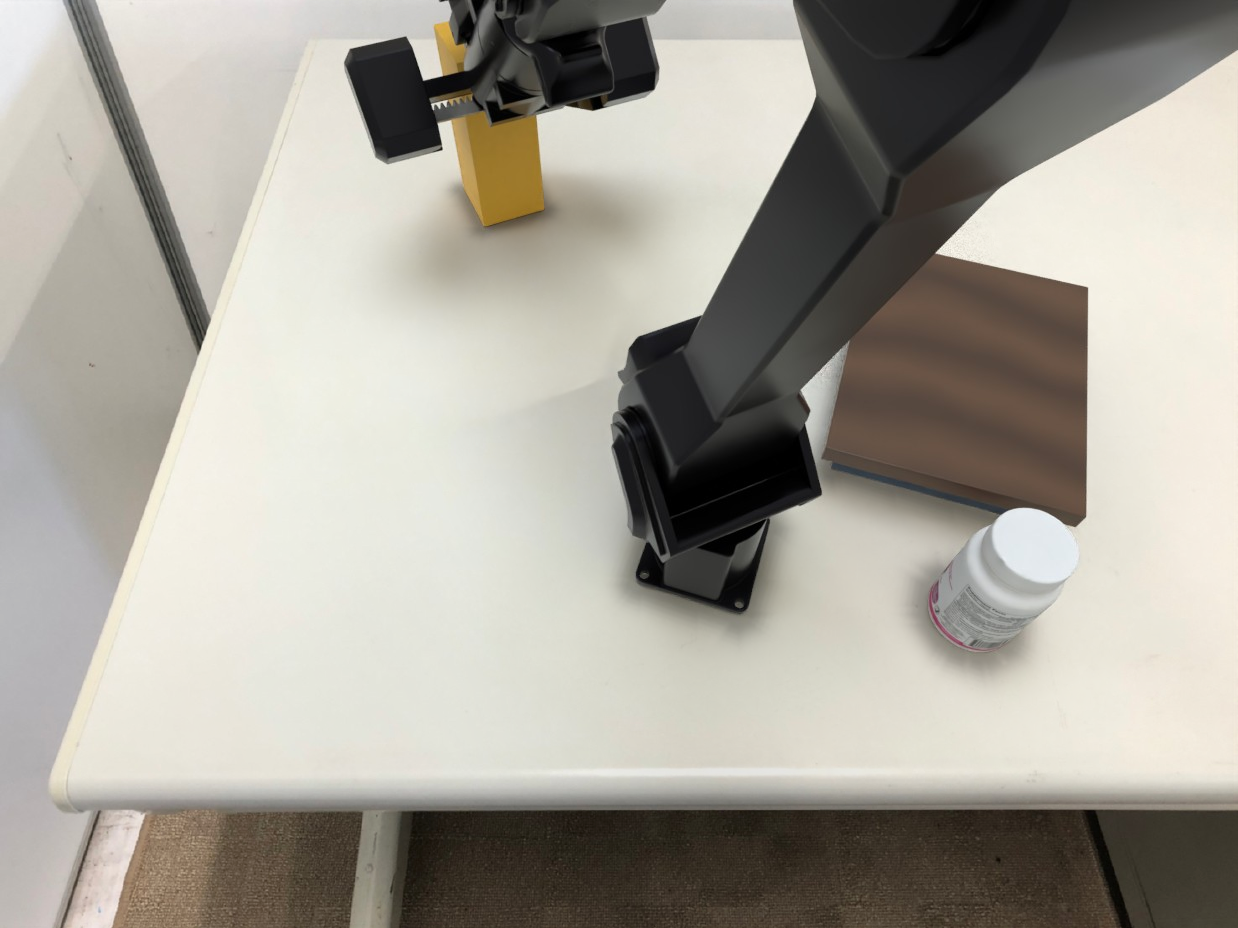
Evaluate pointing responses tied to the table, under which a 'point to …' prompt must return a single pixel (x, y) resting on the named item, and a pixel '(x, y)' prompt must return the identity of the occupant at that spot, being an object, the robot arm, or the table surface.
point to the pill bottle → (1003, 579)
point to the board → (970, 391)
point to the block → (493, 152)
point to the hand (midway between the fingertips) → (489, 109)
